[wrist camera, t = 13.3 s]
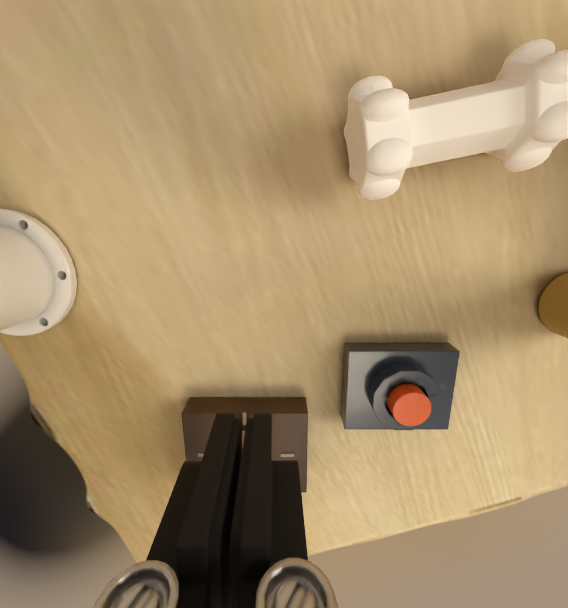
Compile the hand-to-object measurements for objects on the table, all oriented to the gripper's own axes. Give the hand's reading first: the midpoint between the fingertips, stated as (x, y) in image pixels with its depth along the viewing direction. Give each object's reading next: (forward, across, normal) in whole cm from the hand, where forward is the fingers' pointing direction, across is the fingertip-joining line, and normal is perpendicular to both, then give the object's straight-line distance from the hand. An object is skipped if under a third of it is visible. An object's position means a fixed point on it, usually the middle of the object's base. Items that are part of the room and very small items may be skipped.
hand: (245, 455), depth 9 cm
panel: (+23, +2, +17) cm, 29 cm away
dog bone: (+23, -14, -14) cm, 30 cm away
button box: (+22, -14, +10) cm, 28 cm away
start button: (+19, -14, +10) cm, 25 cm away
